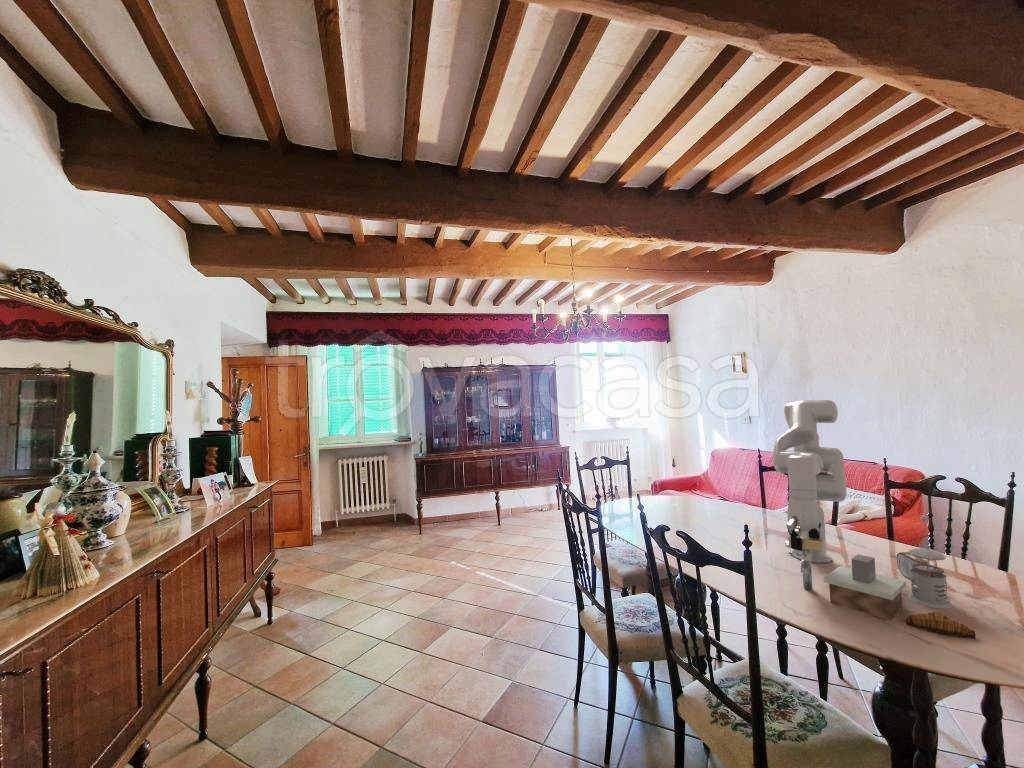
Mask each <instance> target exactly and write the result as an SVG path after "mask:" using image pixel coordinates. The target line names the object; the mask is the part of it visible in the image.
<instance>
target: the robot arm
mask: <svg viewBox="0 0 1024 768" xmlns="http://www.w3.org/2000/svg"><path fill="white" fill-rule="evenodd" d="M783 410H784V411H783V412H784V413H783V414H784V416H785V420H786V422H787V425H788V430H787V431H785V432H784V433H782V434H781V435H780V436H779V438H777V440H776V441H775V443H774V446H773V455H772V459H773V460H772V462H773V463H772V464H773V467H774V469H775V471H777V472H778V473H781V474H788V476H787V478H788V491H789V492H788V494H789V495H788V496H789V497H788V503H787V523H786V529H787V533H788V537H789V536H791V547H789V540H785V542H784V544H785V545H784V546H785V547H786V548H787V549H792V552H791V555H792V557H794V558H796V559H798V560H800V561H802V538H800V536H801V537H809V538H816V539H822V540H823V551H816V550H810V553H811V563H815V562H817V563H819V564H826V562H827V563H831V562H832V560H833V559H832V556H831V555H830V554H829V553H827V541H826V540H827V539H826V523H825V521H826V520H825V512H824V510H823V508H822V507H821V506H820V505H819V503H818V501H822V502H823V501H824V502H835V503H836V502H837V503H840V502H844V501H845V500H846V499H847V480H846V469H845V468H846V467H845V458H844V456H843V455H844V454H843V452H842V451H841V450H840V449H838V448H836V447H824V446H820V436H819V434H818V427H817V426H818V425H817V424H835V422H836V421H837V419H838V416H839V412H838V406H837V404H836V403H835V401H833V400H830V399H829V400H828V399H817V400H815V399H811V400H808V399H807V400H797V401H795V402H794V401H793V402H789V403H786V404H785V406H784V409H783ZM791 448H793V451H791V450H790V451H789V449H791ZM820 473H828V474H829V475H826V474H825V475H824V474H820Z"/></svg>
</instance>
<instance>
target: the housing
mask: <svg viewBox="0 0 1024 768" xmlns="http://www.w3.org/2000/svg"><path fill="white" fill-rule="evenodd" d="M828 584H829V583H828ZM828 587H829V603H830V604H834V605H836V606H840V607H843V608H846V609H851V610H854V611H857V612H861V613H865V614H867V615H871V616H874V617H879V618H880V619H885V620H888V621H891V620H892V619H893V618H894V617H895V616H896V615H897V614H898V612H900V610H901V609H902V608H903V599H902V591H901V592H900V593H899V594H898V595H897V596H896V597H895V598H894V599H893V600H890V599H886V598H882V597H879V596H875V595H871V594H867V593H863V592H860V591H856V590H852V589H848V588H844V587H841V586H837V585H833V584H829V586H828Z"/></svg>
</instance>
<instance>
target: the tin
mask: <svg viewBox="0 0 1024 768" xmlns="http://www.w3.org/2000/svg"><path fill="white" fill-rule="evenodd" d="M895 557H896V564H897V568H898V570H899V572H900V573H901V575H902V576H903V577H904V578H906V579H908V580H909V579H910V581H911V579H912V578H911V569H914V568H913V567H912V565H913V564H916V563H920V564H927V561H928V560H926V559H923V558H919V557H915V556H913V555H911V554H910V553H909V551H906V552H905V551H904V552H897V554H896V556H895ZM913 573H916V572H913ZM916 574H918V575H919V573H916ZM929 577H932V578H933V573H930V574H929ZM913 582H915V583H917V581H913Z"/></svg>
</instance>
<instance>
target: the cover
mask: <svg viewBox="0 0 1024 768" xmlns="http://www.w3.org/2000/svg"><path fill="white" fill-rule="evenodd" d="M875 559H876V558H875V557H873V556H867V555H863V554H859V553H858V554H856V555H855V556H854V557H852V558H851V567H847V566H843V565H839V566H838V567H836V568H835V569H833V570H832V571H830V572H829V573H828V574H826V575H825V576H823V583H825V584H833V585H837V586H841V587H844V588H848V589H852V590H856V591H860V592H863V593H867V594H871V595H875V596H879V597H882V598H886V599H890V600H893V599H894V598H895V597H896V596H897V595H898V594H899V593H900V592H901V593H902V592H903V590H904V589H905V588H907V581H906V580H904V579H899V578H894V577H890V576H886V575H882V574H877V573H876V561H875Z"/></svg>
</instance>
